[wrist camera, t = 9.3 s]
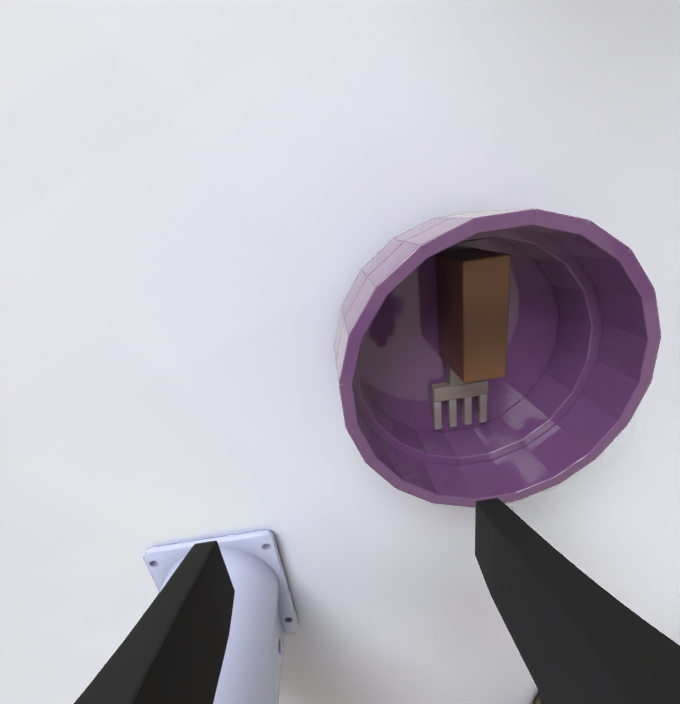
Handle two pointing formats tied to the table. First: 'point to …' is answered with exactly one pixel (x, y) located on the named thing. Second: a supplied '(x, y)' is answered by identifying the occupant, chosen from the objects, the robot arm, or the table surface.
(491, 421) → the bowl
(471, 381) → the fork with wooden handle
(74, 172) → the table surface
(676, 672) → the robot arm
